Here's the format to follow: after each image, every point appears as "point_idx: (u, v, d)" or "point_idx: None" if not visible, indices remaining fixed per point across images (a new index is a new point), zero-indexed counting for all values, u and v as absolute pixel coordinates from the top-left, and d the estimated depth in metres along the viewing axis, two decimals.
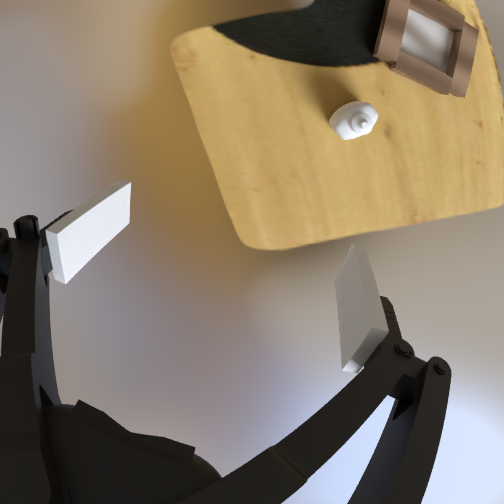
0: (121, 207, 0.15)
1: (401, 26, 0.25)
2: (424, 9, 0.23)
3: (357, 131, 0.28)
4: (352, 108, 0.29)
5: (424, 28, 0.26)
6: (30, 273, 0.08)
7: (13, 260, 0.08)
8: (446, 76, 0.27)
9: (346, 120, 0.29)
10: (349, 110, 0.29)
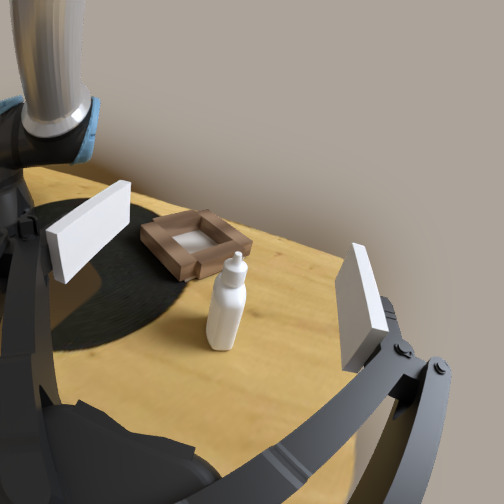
0: (121, 207, 0.15)
1: (173, 241, 0.43)
2: (171, 225, 0.48)
3: (240, 270, 0.29)
4: (215, 282, 0.31)
5: (184, 241, 0.49)
6: (30, 273, 0.08)
7: (13, 260, 0.08)
8: (229, 242, 0.47)
9: (223, 288, 0.29)
10: (215, 285, 0.30)
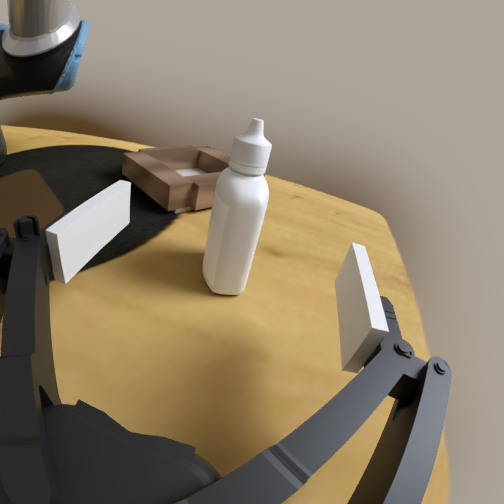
0: (121, 207, 0.15)
1: (162, 166, 0.32)
2: (162, 155, 0.36)
3: (261, 143, 0.17)
4: (220, 175, 0.19)
5: None
6: (30, 273, 0.08)
7: (13, 260, 0.08)
8: None
9: (233, 176, 0.18)
10: (220, 177, 0.19)
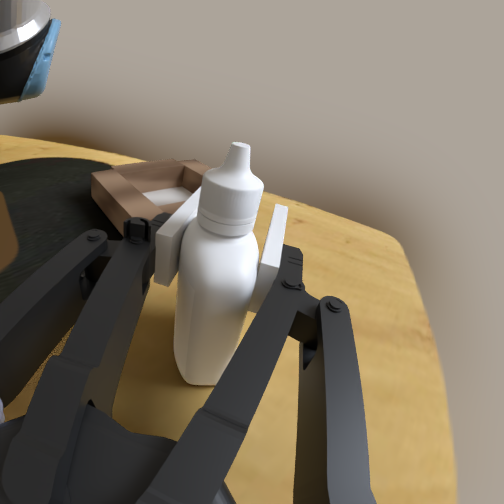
0: None
1: (133, 190, 0.25)
2: (138, 174, 0.30)
3: (246, 185, 0.11)
4: (186, 231, 0.13)
5: (156, 199, 0.31)
6: (125, 280, 0.09)
7: (112, 259, 0.10)
8: None
9: (202, 238, 0.11)
10: (185, 235, 0.12)
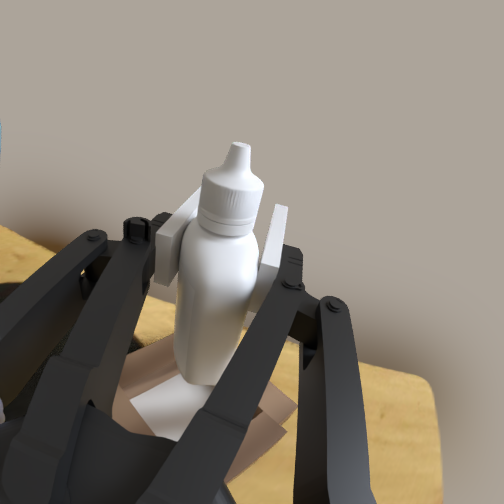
0: None
1: (148, 434, 0.18)
2: (143, 378, 0.22)
3: (246, 186, 0.11)
4: (186, 231, 0.13)
5: (170, 402, 0.24)
6: (125, 279, 0.09)
7: (112, 259, 0.10)
8: (258, 419, 0.21)
9: (202, 239, 0.11)
10: (185, 235, 0.12)
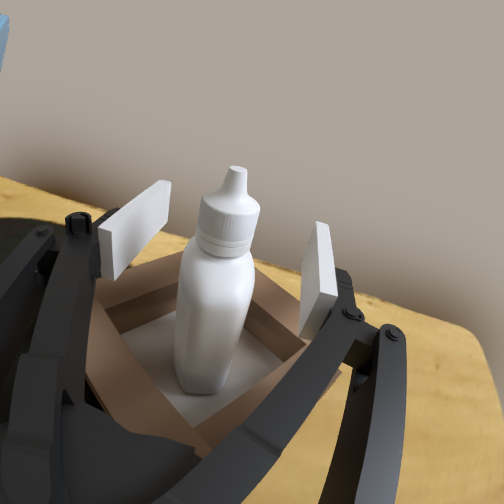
0: (162, 206, 0.17)
1: (136, 373, 0.13)
2: (137, 300, 0.17)
3: (242, 210, 0.11)
4: (185, 249, 0.13)
5: (172, 340, 0.18)
6: (74, 272, 0.09)
7: (59, 255, 0.09)
8: (300, 355, 0.16)
9: (200, 259, 0.12)
10: (184, 253, 0.13)
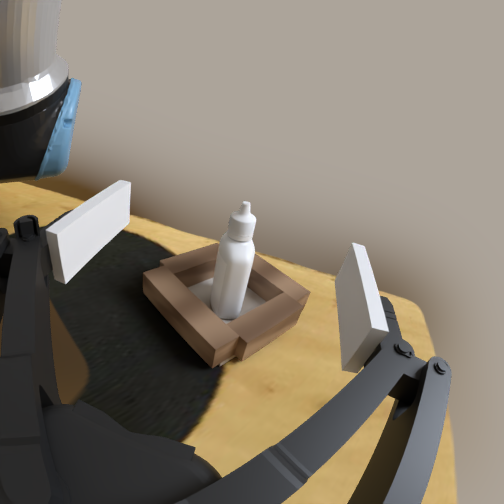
0: (121, 207, 0.15)
1: (196, 301, 0.28)
2: (190, 270, 0.32)
3: (248, 220, 0.26)
4: (221, 239, 0.29)
5: (209, 294, 0.33)
6: (30, 273, 0.08)
7: (13, 260, 0.08)
8: (280, 296, 0.31)
9: (230, 242, 0.27)
10: (221, 241, 0.28)
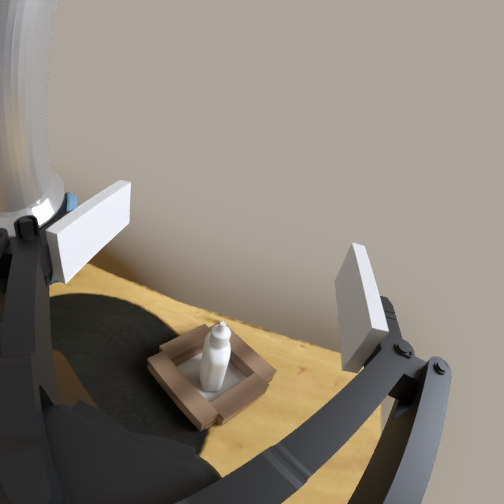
0: (121, 207, 0.15)
1: (188, 385, 0.35)
2: (183, 353, 0.40)
3: (224, 336, 0.34)
4: (205, 342, 0.36)
5: (198, 369, 0.41)
6: (30, 273, 0.08)
7: (13, 260, 0.08)
8: (251, 377, 0.39)
9: (211, 348, 0.35)
10: (205, 344, 0.36)
